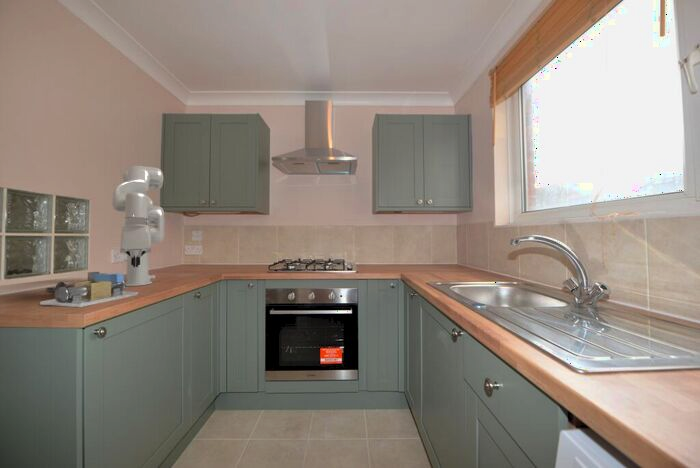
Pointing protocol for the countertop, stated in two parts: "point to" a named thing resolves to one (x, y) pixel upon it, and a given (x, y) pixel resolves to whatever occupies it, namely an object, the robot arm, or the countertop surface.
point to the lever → (105, 277)
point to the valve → (60, 284)
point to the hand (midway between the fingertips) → (135, 266)
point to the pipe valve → (88, 293)
